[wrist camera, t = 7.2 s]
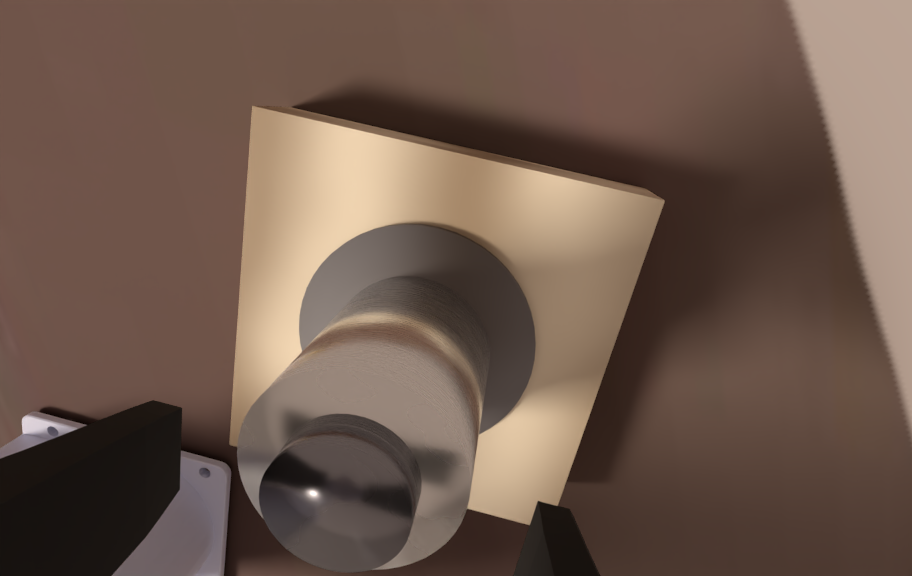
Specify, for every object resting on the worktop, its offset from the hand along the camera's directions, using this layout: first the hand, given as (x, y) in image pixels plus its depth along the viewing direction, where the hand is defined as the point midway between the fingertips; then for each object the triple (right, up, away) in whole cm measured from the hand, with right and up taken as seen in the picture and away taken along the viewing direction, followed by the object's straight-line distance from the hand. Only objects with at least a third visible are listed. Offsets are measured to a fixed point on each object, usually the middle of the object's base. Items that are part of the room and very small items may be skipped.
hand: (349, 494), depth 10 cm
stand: (+1, +3, +9) cm, 9 cm away
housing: (+1, +2, +6) cm, 7 cm away
